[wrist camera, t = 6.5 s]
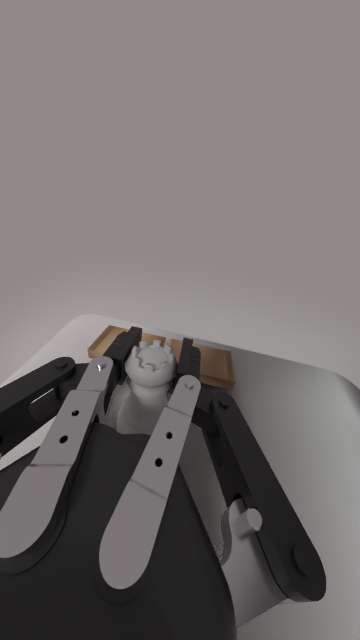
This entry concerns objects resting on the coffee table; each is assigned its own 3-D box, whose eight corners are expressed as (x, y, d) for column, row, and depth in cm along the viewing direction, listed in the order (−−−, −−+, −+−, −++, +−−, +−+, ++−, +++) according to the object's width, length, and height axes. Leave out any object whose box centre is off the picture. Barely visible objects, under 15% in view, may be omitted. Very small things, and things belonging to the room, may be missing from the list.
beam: (227, 359, 22) (230, 351, 21) (231, 389, 18) (235, 381, 17) (109, 333, 22) (109, 325, 22) (88, 357, 18) (87, 348, 18)
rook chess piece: (103, 442, 13) (95, 365, 9) (133, 393, 17) (137, 323, 13) (160, 467, 12) (178, 396, 8) (178, 410, 16) (197, 342, 12)
